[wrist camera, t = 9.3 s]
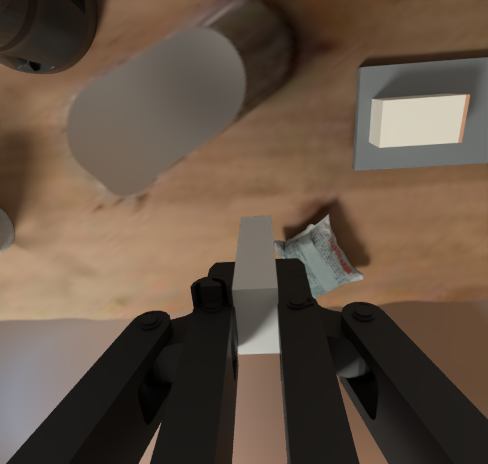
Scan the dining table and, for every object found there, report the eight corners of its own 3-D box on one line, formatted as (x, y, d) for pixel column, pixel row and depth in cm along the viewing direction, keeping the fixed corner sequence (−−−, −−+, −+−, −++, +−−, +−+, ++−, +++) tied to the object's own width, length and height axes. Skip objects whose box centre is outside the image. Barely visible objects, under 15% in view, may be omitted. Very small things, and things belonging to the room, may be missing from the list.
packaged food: (325, 207, 48) (332, 220, 43) (360, 271, 52) (370, 290, 47) (271, 235, 50) (271, 251, 45) (308, 295, 54) (312, 315, 49)
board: (352, 168, 45) (354, 170, 44) (358, 67, 40) (360, 67, 39) (495, 159, 44) (501, 161, 43) (518, 54, 39) (526, 54, 38)
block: (444, 137, 42) (368, 142, 43) (450, 93, 40) (371, 98, 41) (461, 142, 38) (379, 147, 39) (470, 94, 36) (383, 100, 37)
